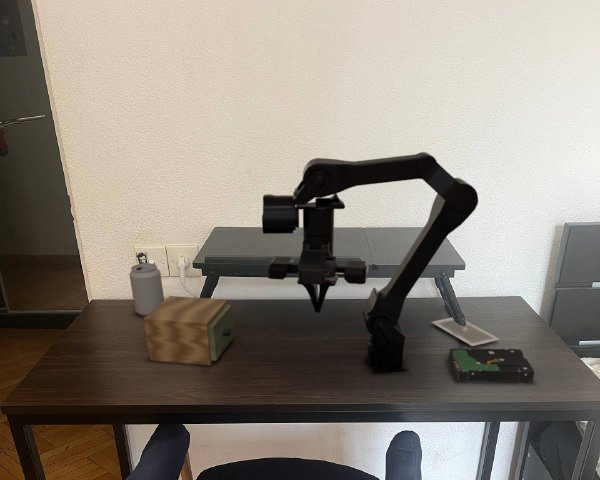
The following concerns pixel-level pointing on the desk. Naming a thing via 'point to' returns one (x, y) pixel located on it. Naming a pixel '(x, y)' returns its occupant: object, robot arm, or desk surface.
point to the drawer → (220, 332)
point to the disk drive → (490, 365)
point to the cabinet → (182, 329)
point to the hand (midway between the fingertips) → (317, 312)
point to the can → (146, 287)
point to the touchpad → (466, 332)
